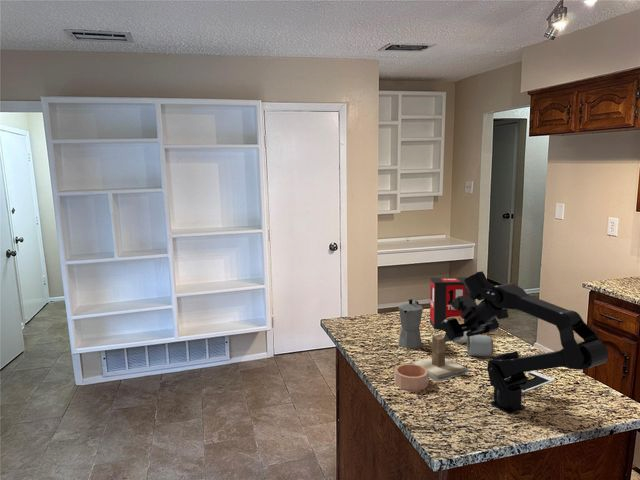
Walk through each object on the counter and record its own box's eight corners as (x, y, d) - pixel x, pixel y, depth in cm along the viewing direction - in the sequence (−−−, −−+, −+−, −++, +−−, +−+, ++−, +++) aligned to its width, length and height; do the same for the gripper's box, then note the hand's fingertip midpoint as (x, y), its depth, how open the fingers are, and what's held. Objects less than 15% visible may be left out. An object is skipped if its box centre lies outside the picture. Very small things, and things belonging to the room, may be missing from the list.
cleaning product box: (467, 322, 196) (469, 277, 193) (473, 328, 187) (475, 282, 185) (429, 322, 197) (430, 277, 194) (434, 329, 188) (435, 282, 185)
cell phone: (555, 381, 139) (555, 379, 139) (521, 394, 132) (521, 392, 131) (532, 372, 146) (532, 370, 146) (499, 384, 138) (499, 382, 138)
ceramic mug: (494, 360, 155) (494, 338, 154) (469, 359, 157) (470, 337, 156) (487, 349, 166) (488, 329, 165) (464, 348, 167) (465, 328, 166)
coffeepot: (416, 353, 162) (417, 305, 160) (392, 348, 167) (392, 302, 165) (428, 339, 176) (429, 295, 173) (405, 336, 180) (406, 292, 178)
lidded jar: (475, 345, 169) (476, 321, 168) (446, 344, 171) (446, 320, 170) (470, 335, 180) (471, 312, 178) (443, 334, 181) (443, 312, 180)
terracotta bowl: (434, 386, 136) (435, 372, 136) (409, 395, 132) (409, 380, 131) (413, 374, 145) (413, 361, 144) (388, 381, 140) (388, 368, 140)
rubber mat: (471, 372, 146) (471, 370, 146) (437, 383, 139) (437, 381, 139) (439, 356, 159) (439, 355, 159) (406, 365, 152) (406, 364, 152)
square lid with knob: (465, 370, 146) (465, 339, 145) (437, 378, 141) (438, 346, 139) (438, 357, 157) (439, 328, 155) (412, 365, 151) (412, 335, 150)
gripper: (492, 285, 137) (465, 311, 149) (446, 293, 129) (420, 320, 140) (513, 317, 132) (482, 341, 143) (465, 327, 123) (437, 352, 134)
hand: (456, 337), depth 140 cm, fingers open, 9 cm apart
